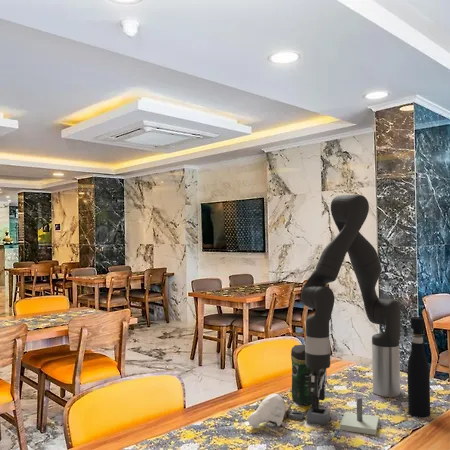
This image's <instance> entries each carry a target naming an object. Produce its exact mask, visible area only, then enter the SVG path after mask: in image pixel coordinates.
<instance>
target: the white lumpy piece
mask: <svg viewBox="0 0 450 450" xmlns="http://www.w3.org/2000/svg"><path fill="white" fill-rule="evenodd" d="M285 405H286V404H285V400H284V399H283V398H282V396H281V395H279V394H278V393H271V394H269V395H266V396H265V398H263V400H261V402H260V404H259V406H258V407H257V409H256V411H253V412H252V413H251V414H250V415H249V416H248V419H247V420H248V424H249V425H250V426H251V427H252V429H259V430H260V429H261V428H260V427H262V426H261V424H262V423H265V422H266V423H269V422H272V423H276V425H277V427H281V425H282V422H283V420H284V419H283V417H284V414H285V409H286V407H285Z"/></svg>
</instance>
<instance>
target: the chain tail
mask: <svg viewBox="0 0 450 450" xmlns="http://www.w3.org/2000/svg"><path fill="white" fill-rule="evenodd" d="M284 405H285V407H286V409H285V414H284V417H283V420H287V419H291V420H299V421H303V420H304V418H305V417H306V416H305V412H301V411H294V410H292V408H291V407H292V406H291V405H292V404H291V405H290V404H284Z"/></svg>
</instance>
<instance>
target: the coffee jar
mask: <svg viewBox="0 0 450 450" xmlns="http://www.w3.org/2000/svg"><path fill="white" fill-rule="evenodd" d="M290 359H291V398H292V399H293V401H295V402H296V403H297V404H298V405H307V406H311V396H309V375H310V373H312V369H311V368H309V367H307V366H306V364H305V344H295V345H294V346H292V348H291V351H290ZM313 392H315V389H313Z"/></svg>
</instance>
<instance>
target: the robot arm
mask: <svg viewBox="0 0 450 450" xmlns="http://www.w3.org/2000/svg"><path fill="white" fill-rule="evenodd" d="M369 211H370V205H369V201H368V199H367V198H366V197H365V196H364V195H362V194H340V195H336V196H334V197H333V198H332V200H331V202H330V213H331V217H332V220H333V222H334V224H335V226H336V228H337V230H338V234H336V236H335V237H334V238H333V239H332V240H331V241H330V242H329V243H328V244H327V245H326V246H325V247H324V249H323V250H322V252H321V253H320V257H319V258H318V262H317V264H316V267H315V270H314V271H313V272H312V273H311V274H310V276H309V277H308V279H307V280H306V281H305V283H304V284H303V286H302V289H301V292H300V299H301V303H302V304H303V305H304V306H306V307H308V308H312V309H315V312H314V314H313V315H310V316H307V318H306V319H305V342H304V343H305V344H304V345H305V364H306V366H307V367H309V368H311V369H312V373H310V375H309V396H311V405H310V407H311V408H312V409H316V410H318V409H319V407H320V401H324V400H325V399H326V397H325V396H326V391H325V390H326V386H327V381H328V380H327V369H329V368H330V367H331V338H330V321H331V318H332V314H333V310H334V306H335V293H334V292H333V290H332V288H330V286H326V285H327V284H329V283H334V282H335V281H336V280H337V278H338V276H339V273H340V272H341V271H340V270H341V268H342V266H343V263H344V260H345V257H346V255H347V254H348V257H349V258H348V259H349V261H350V264H351V267H352V270H353V272H354V274H355V275H354V276H355V278H356V280H357V283H358V286H359V289H360V294H361V296H362V298H361V299H362V301H363V306H364V310H365V315H366V317H367V319H368V320H369V322H370V323H371V324H374V325H381V326H385V329H384V331H383V332H379V333H375V334H373V335H372V336H371V351H372V352H371V355H372V357H371V358H372V360H371V362H372V393H374V394H375V395H377V396H380V397H385V398H386V397H387V398H390V397H391V398H394V397H395V398H396V397H399V396H400V395H401V367H400V365H401V363H400V362H401V360H400V359H401V358H400V338H401V320H402V312H401V311H402V310H401V305H400V303H399V302H398V301H397V300H395V299H388V298H380V297H378V295H377V292H376V286H377V283H378V281H379V279H380V276H381V273H382V265H381V261H380V258H379V255H378V252H377V250H376V248H375V247H374V246H373V245H372V244H371V242H370V241H369V240H368V239H367V238H366V237H365V236H364V235H363V234H361V232H360V231H361V229H362V227H363V225H364V224H365V222H366V219H367V218H368V214H369ZM313 389H315V392H313Z"/></svg>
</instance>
